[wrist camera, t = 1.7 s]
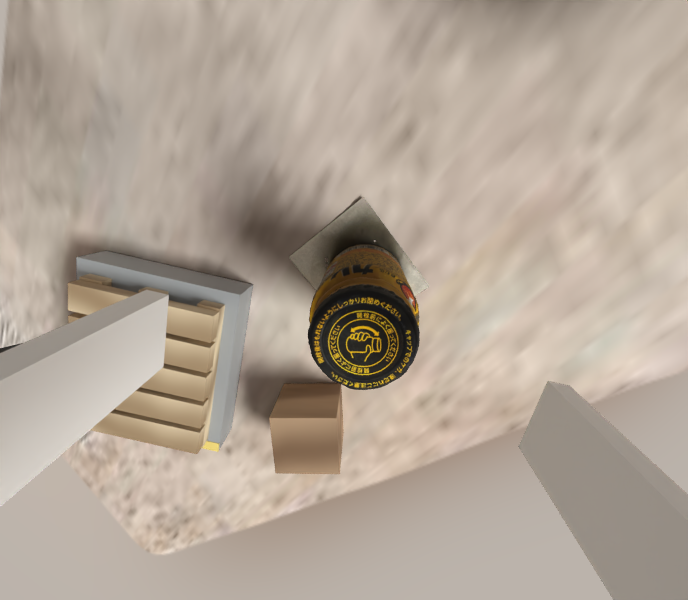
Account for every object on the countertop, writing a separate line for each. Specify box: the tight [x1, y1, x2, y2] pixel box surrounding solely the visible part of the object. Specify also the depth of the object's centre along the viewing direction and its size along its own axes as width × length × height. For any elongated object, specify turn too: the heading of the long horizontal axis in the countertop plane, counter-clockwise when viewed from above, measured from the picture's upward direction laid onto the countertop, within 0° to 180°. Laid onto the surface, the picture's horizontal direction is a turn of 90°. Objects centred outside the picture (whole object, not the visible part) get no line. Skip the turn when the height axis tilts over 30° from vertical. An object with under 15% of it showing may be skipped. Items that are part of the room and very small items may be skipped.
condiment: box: [289, 197, 429, 390], centre depth 22 cm, size 7×8×12 cm
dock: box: [76, 251, 253, 452], centre depth 29 cm, size 14×12×3 cm
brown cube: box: [269, 383, 343, 474], centre depth 29 cm, size 5×5×5 cm
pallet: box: [68, 274, 225, 454], centre depth 26 cm, size 12×10×2 cm
